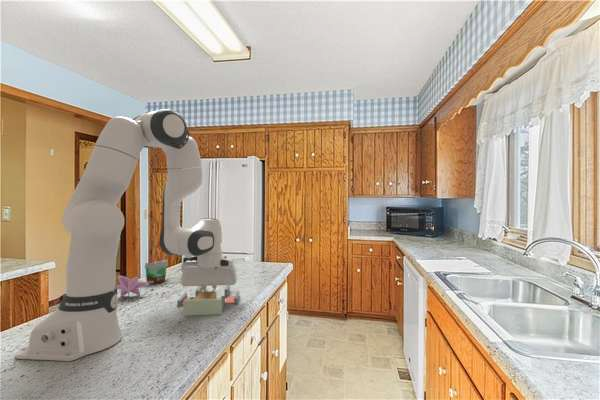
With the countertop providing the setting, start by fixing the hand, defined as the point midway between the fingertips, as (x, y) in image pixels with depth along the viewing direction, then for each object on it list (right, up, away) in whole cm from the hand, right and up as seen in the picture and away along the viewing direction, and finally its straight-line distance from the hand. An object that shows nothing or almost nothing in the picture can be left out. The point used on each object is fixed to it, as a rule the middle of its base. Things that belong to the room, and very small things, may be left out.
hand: (209, 296), depth 113 cm
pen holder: (-19, -2, +35) cm, 40 cm away
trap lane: (0, -2, +1) cm, 2 cm away
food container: (-32, -2, +27) cm, 42 cm away
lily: (-33, -2, +5) cm, 33 cm away
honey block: (+1, -2, -6) cm, 6 cm away
